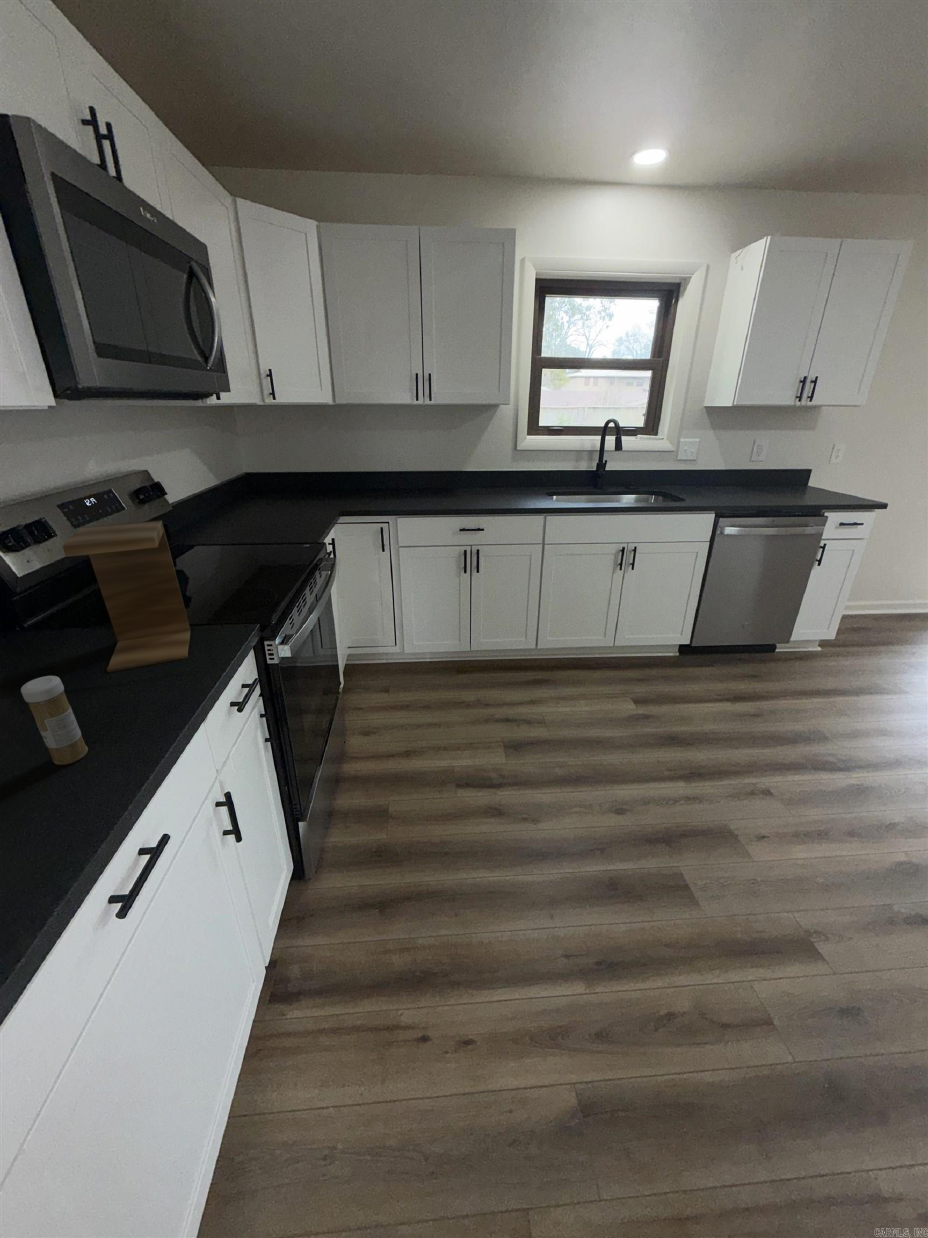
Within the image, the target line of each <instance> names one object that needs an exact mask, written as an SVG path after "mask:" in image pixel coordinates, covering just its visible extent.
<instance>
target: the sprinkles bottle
mask: <svg viewBox="0 0 928 1238" xmlns="http://www.w3.org/2000/svg"><path fill="white" fill-rule="evenodd" d="M20 693H21V695H22V697H23V699H24V701H25V702H26V703H27V704H28V706H29V709H30V711H31V713H32V715H33V718H34V719H35V723H36V726H37V728H38V731H39V733H40V735H41V737H42V740H43V743H44V744H45V746H46V747H47V749H48V751H49V754H50V756H51V761H52V763H53V764H55V765H57V766H65V765H69V764H73V763H75V762H77V761H80V760H81V759H82V758H83V759H84V757H85V756H86V755H87V753H88V751H89V748H88V746H87V745H86V743H85V741H84V739H83V736H82V732H81V728H80V726H79V724H78V722H77V719H76V716H75V714H74V712H73V709H72V706H71V705H70V703H69V701H68V699H67V698H68V697H67V695H66V693H65V687H64V684H63V682H62V680H61V678H60V677H59V676H56V675H46V676H41V677H37V678H34V679H31V680H29V681H27V682H26V683H25V684H23V685H22V686H21V688H20Z"/></svg>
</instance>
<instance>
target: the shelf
mask: <svg viewBox="0 0 928 1238" xmlns="http://www.w3.org/2000/svg"><path fill="white" fill-rule="evenodd" d="M62 550H63V552H64V555H65V557H66V558H68V557H69V558H70V557H79V556H80V557H81V556H88V557H89V559H90V563H91V565H92V568H93V571H94V575H95V578H96V580H97V581H96V582H97V583H98V586H99V589H100V592H101V596H102V599H103V602H104V604H105V607H106V610H107V613H108V616H109V619H110V622H111V625H112V628H113V632H114V634H115V637H116V640H117V644H116V646H115V649H114V651H113V654H112V656H111V658H110V660H109V663H108V666H107V668H106V672H107V673H110V672H117V671H123V670H128V669H133V668H138V667H139V668H140V667H145V666H150V665H155V664H161V663H167V662H173V661H178V660H183V659H188V655H189V650H190V649H189V647H190V640H191V632H192V630H191V625H190V622H189V618H188V614H187V611H186V606H185V603H184V599H183V596H182V595H183V594H182V592H181V588H180V585H179V580H178V577H177V573H176V569H175V565H174V561H173V558H172V554H171V550H170V546H169V542H168V538H167V534H166V531H165V527H164V523H163V520H160V519H159V520H152V521H151V520H149V521H139V522H138V521H137V522H127V523H126V522H125V523H114V524H104V525H93V526H81V527H80V528H79V529H78V530H77V531H76V532H75V533H74V534H73V535H72V536H71V537H70V538H69V539H68V540H67V541H66V542H65V543H64V544H63V545H62Z"/></svg>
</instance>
